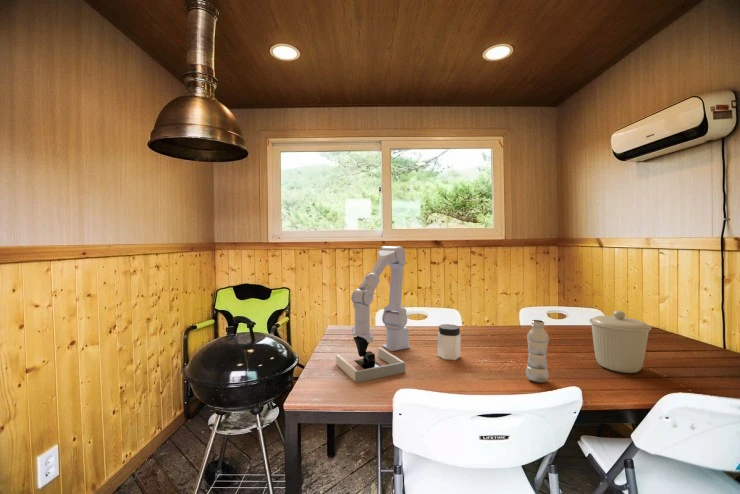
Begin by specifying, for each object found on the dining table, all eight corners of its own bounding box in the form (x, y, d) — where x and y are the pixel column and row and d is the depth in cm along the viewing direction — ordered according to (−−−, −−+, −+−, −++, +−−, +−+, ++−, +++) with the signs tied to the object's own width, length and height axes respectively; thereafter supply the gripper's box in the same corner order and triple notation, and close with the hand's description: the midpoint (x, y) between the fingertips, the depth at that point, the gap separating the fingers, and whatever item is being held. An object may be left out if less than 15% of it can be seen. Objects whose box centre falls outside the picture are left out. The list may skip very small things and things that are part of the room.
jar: (464, 358, 129) (464, 328, 129) (446, 361, 127) (446, 330, 126) (451, 351, 138) (451, 323, 137) (434, 353, 135) (434, 324, 135)
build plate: (385, 369, 120) (385, 356, 119) (367, 373, 116) (367, 360, 116) (369, 358, 131) (369, 346, 130) (352, 361, 127) (352, 349, 127)
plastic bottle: (521, 377, 112) (522, 318, 112) (540, 376, 113) (541, 318, 113) (532, 385, 106) (533, 323, 106) (552, 384, 107) (553, 323, 106)
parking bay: (380, 356, 132) (380, 347, 132) (405, 372, 116) (405, 362, 116) (336, 364, 124) (336, 354, 123) (356, 382, 107) (356, 372, 107)
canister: (634, 382, 109) (635, 318, 108) (578, 363, 125) (579, 308, 124) (660, 372, 117) (661, 313, 117) (604, 356, 133) (605, 304, 133)
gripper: (345, 317, 130) (345, 351, 130) (360, 326, 117) (360, 364, 117) (361, 315, 133) (361, 349, 133) (378, 324, 120) (378, 360, 120)
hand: (362, 355), depth 125 cm, fingers closed
